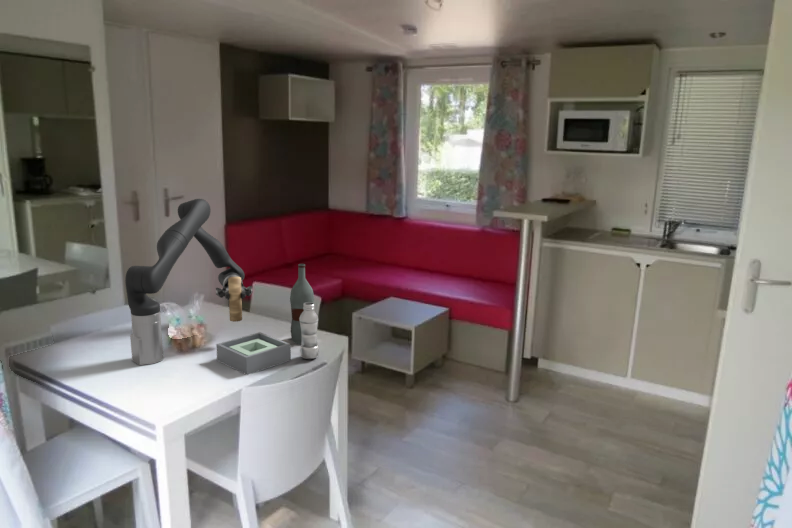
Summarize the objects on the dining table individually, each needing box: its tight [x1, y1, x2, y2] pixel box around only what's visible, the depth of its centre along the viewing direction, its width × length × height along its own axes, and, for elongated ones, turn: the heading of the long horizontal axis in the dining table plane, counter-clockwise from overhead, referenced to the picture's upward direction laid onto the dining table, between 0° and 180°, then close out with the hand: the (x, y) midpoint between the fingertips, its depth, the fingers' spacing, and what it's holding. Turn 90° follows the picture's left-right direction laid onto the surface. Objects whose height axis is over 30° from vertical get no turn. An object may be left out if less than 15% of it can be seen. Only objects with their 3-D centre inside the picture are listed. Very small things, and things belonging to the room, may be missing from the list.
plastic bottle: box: [299, 302, 320, 360], centre depth 199 cm, size 6×7×20 cm
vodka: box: [289, 263, 315, 345], centre depth 216 cm, size 9×9×30 cm
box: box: [215, 331, 292, 376], centre depth 198 cm, size 18×18×6 cm
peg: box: [228, 277, 243, 323], centre depth 210 cm, size 4×4×16 cm
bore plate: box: [229, 339, 278, 356], centre depth 198 cm, size 12×12×4 cm
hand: (235, 296), depth 207 cm, fingers closed on peg, 4 cm apart
